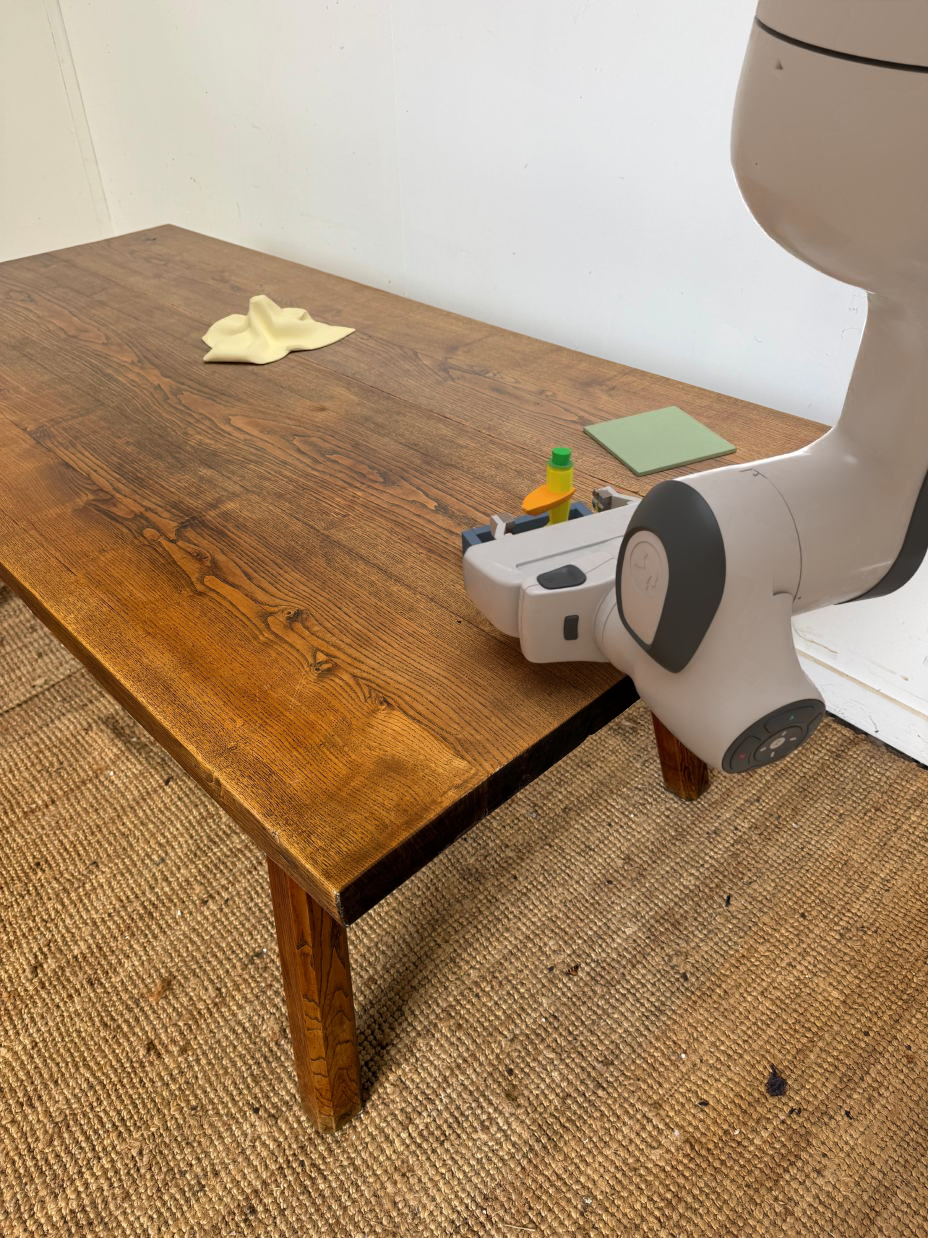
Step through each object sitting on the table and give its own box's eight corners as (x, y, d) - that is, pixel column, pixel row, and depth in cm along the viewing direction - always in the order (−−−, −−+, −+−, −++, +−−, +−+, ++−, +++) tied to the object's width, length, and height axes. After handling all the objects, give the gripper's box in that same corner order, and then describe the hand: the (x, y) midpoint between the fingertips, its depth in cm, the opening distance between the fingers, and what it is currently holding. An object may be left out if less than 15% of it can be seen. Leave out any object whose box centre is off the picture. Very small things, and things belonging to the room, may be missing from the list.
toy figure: (540, 602, 75) (541, 476, 67) (510, 585, 77) (507, 461, 69) (592, 568, 78) (598, 445, 71) (561, 553, 80) (565, 432, 73)
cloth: (211, 375, 118) (200, 330, 114) (187, 332, 131) (177, 290, 127) (368, 343, 124) (363, 299, 120) (330, 305, 138) (324, 265, 134)
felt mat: (674, 409, 103) (674, 405, 102) (736, 451, 94) (737, 447, 94) (583, 430, 99) (583, 426, 99) (638, 476, 91) (638, 472, 90)
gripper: (764, 525, 64) (660, 447, 74) (507, 598, 58) (434, 502, 69) (750, 595, 68) (654, 511, 78) (509, 669, 62) (439, 569, 72)
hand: (549, 508), depth 73 cm, fingers open, 8 cm apart
